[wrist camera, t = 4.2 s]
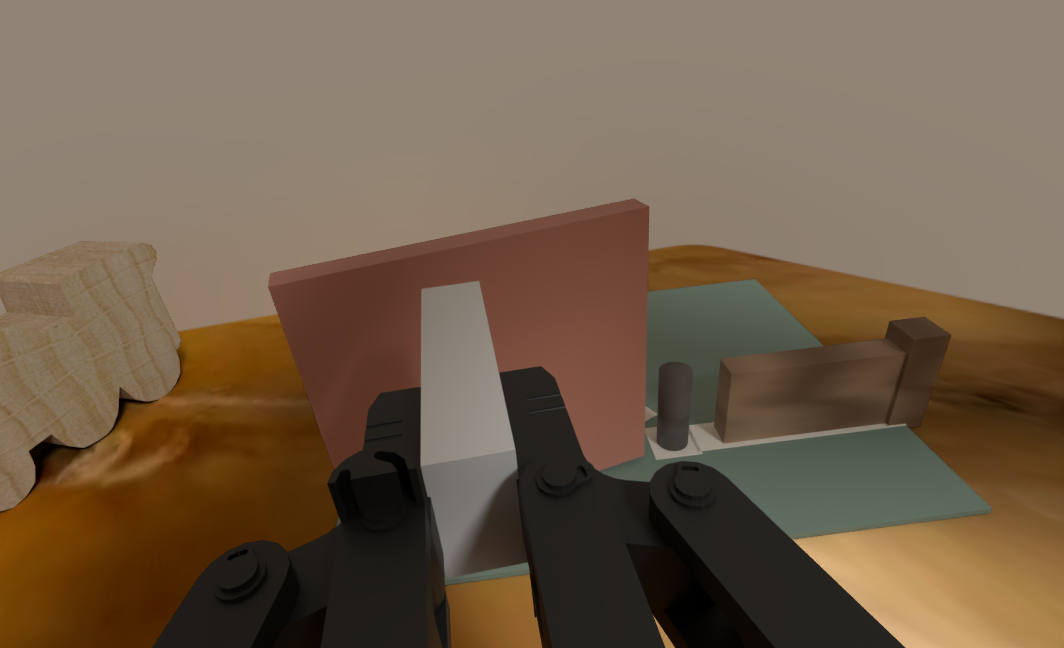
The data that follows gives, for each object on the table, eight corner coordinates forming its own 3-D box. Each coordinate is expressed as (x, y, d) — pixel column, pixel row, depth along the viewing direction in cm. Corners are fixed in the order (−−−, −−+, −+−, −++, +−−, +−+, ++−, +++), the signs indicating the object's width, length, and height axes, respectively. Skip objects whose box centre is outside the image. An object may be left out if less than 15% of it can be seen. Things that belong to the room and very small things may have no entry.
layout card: (754, 282, 44) (755, 278, 44) (989, 513, 24) (992, 507, 24) (393, 325, 43) (392, 321, 43) (318, 601, 23) (316, 596, 23)
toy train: (-126, 540, 28) (-286, 382, 23) (150, 358, 42) (86, 235, 37) (-55, 559, 27) (-209, 395, 22) (207, 363, 41) (149, 236, 36)
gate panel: (632, 440, 29) (633, 198, 22) (644, 455, 28) (649, 206, 21) (361, 530, 25) (270, 273, 19) (363, 551, 24) (268, 286, 18)
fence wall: (897, 405, 30) (924, 316, 28) (920, 426, 29) (951, 335, 26) (652, 435, 30) (654, 349, 27) (661, 459, 28) (665, 369, 26)
